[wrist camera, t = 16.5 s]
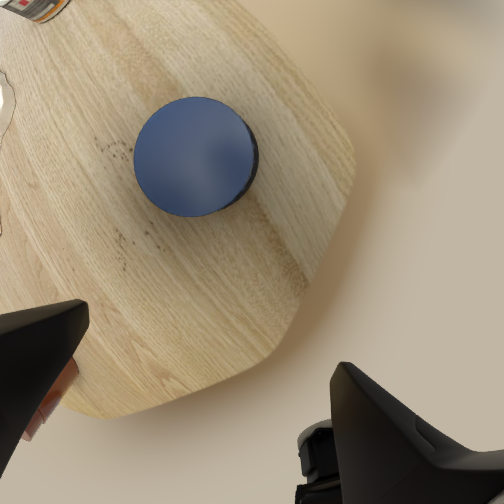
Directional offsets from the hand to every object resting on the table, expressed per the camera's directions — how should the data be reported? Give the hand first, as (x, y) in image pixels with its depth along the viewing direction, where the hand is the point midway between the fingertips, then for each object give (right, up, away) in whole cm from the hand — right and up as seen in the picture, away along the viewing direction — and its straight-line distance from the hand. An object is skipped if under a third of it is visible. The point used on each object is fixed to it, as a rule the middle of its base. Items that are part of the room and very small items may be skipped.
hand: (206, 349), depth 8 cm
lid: (-2, +9, +8) cm, 12 cm away
